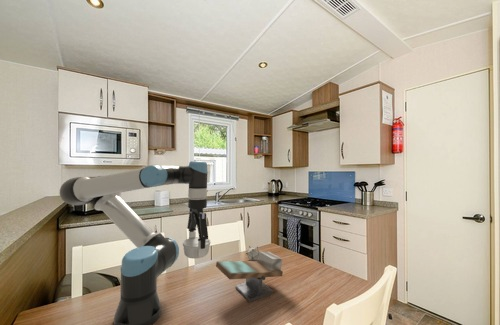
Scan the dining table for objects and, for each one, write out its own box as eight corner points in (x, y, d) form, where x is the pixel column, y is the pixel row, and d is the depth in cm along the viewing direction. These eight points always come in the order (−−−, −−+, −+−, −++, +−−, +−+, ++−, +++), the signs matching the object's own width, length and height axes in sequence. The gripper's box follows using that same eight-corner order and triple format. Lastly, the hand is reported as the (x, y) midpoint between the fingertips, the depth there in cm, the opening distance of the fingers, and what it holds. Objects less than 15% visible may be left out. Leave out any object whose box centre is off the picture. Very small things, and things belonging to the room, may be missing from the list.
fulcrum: (249, 302, 87) (250, 283, 87) (235, 288, 97) (235, 271, 97) (272, 293, 93) (273, 276, 94) (257, 280, 103) (257, 265, 104)
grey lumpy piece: (255, 265, 128) (264, 250, 130) (254, 266, 120) (264, 250, 122) (243, 256, 130) (252, 242, 133) (241, 256, 122) (251, 241, 125)
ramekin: (203, 261, 82) (203, 247, 82) (177, 258, 84) (177, 244, 84) (214, 250, 93) (214, 238, 93) (190, 248, 95) (190, 236, 95)
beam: (230, 282, 81) (234, 261, 82) (214, 267, 93) (218, 248, 94) (283, 278, 95) (286, 260, 96) (263, 265, 107) (265, 249, 108)
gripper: (217, 201, 81) (216, 259, 81) (197, 194, 101) (196, 241, 101) (198, 203, 77) (197, 264, 77) (180, 195, 97) (179, 244, 96)
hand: (196, 251), depth 89 cm, fingers closed on ramekin, 11 cm apart
